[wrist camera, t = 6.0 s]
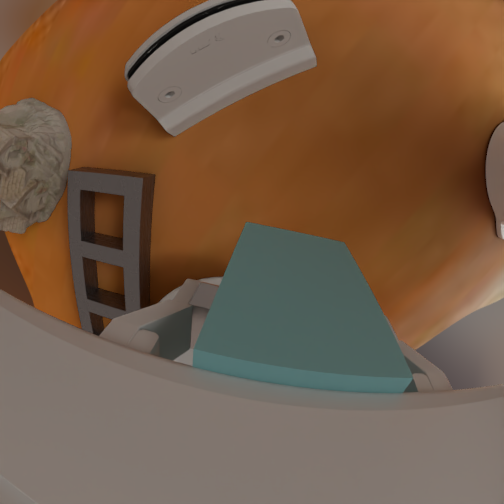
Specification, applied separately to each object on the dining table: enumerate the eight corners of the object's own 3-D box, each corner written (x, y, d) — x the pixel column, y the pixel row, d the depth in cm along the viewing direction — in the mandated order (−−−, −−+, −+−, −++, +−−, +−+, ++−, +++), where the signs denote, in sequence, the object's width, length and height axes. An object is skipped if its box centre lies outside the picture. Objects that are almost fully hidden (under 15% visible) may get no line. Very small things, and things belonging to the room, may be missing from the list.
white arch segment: (171, 138, 26) (108, 103, 16) (159, 106, 26) (100, 66, 16) (320, 64, 22) (315, -5, 12) (297, 36, 22) (283, -31, 12)
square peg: (344, 242, 12) (413, 378, 5) (317, 322, 14) (335, 467, 6) (246, 221, 12) (193, 348, 5) (231, 306, 14) (189, 449, 6)
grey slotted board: (155, 174, 27) (143, 178, 24) (152, 357, 37) (145, 370, 34) (83, 167, 27) (68, 170, 25) (96, 338, 37) (87, 349, 34)
